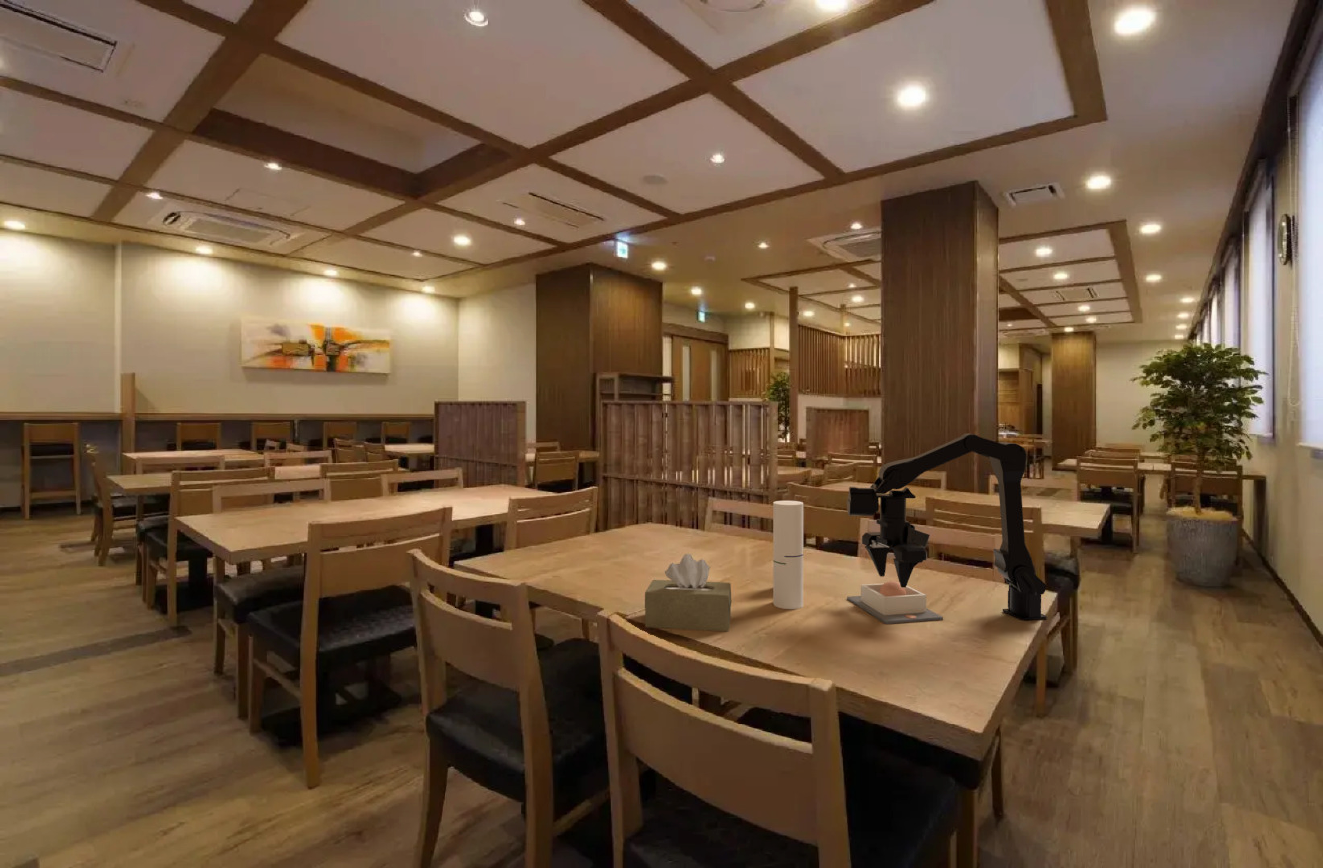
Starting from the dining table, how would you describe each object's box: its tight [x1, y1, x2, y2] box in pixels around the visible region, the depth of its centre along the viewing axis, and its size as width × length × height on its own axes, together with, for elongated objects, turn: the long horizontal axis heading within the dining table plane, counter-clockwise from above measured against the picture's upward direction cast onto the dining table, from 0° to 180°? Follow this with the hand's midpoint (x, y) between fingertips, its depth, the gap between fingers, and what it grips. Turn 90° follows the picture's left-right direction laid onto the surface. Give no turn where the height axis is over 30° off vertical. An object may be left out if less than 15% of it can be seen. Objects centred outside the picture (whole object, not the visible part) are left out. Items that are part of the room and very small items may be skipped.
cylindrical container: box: [772, 500, 804, 610], centre depth 147 cm, size 7×7×25 cm
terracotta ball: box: [879, 580, 906, 597], centre depth 144 cm, size 6×6×6 cm
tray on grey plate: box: [846, 581, 944, 625], centre depth 144 cm, size 18×14×5 cm
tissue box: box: [644, 553, 733, 632], centre depth 136 cm, size 19×10×16 cm, turn 81°
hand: (892, 581), depth 144 cm, fingers open, 9 cm apart
